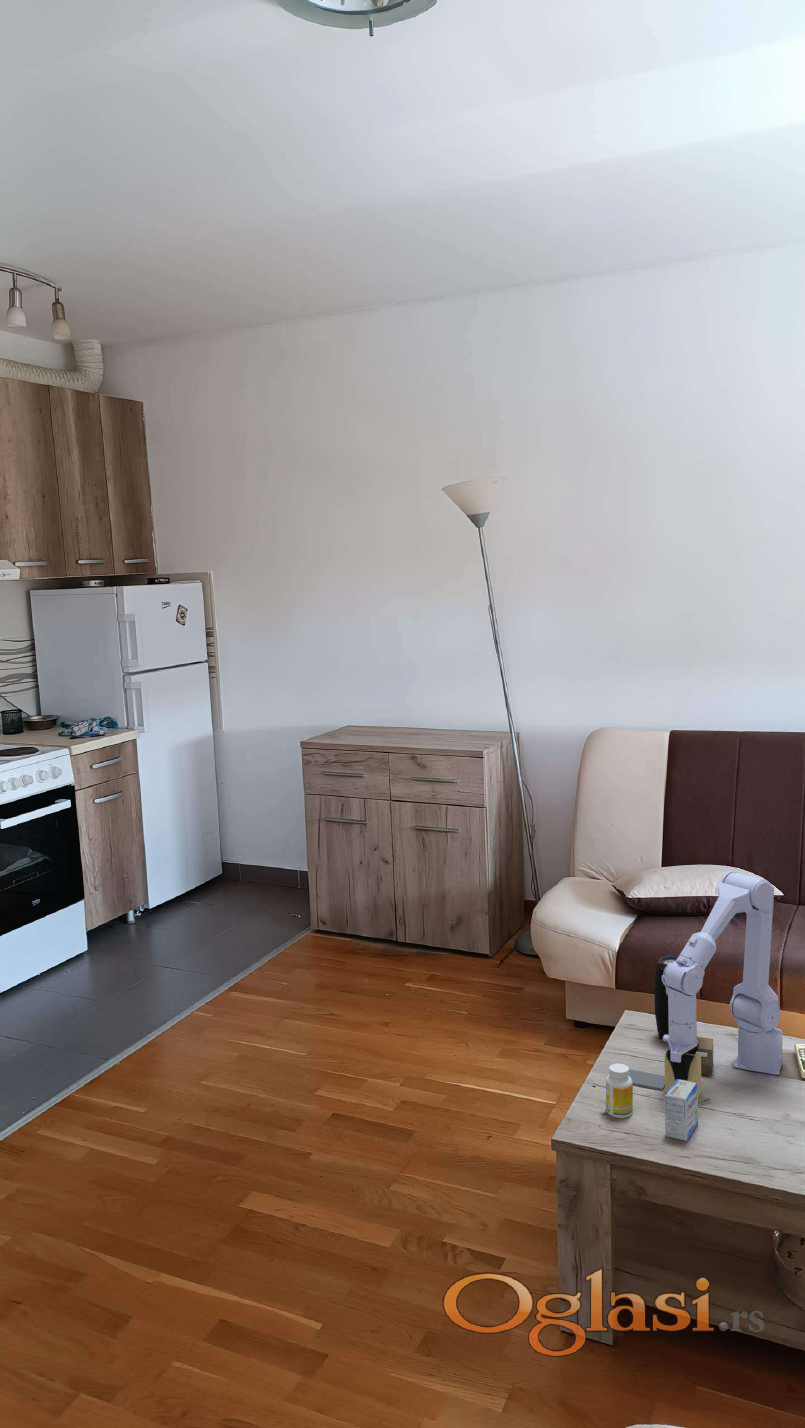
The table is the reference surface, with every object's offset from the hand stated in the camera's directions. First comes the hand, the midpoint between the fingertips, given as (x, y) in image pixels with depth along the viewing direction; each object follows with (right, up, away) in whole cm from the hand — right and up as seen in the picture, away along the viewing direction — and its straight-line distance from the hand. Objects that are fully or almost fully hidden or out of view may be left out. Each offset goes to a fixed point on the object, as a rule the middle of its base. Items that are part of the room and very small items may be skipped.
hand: (683, 1080), depth 210 cm
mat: (-7, -2, +5) cm, 9 cm away
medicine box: (-5, -4, -15) cm, 17 cm away
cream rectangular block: (0, -2, 0) cm, 2 cm away
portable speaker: (+5, 0, +26) cm, 26 cm away
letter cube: (+7, -1, +10) cm, 12 cm away
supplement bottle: (-15, -4, -7) cm, 17 cm away
